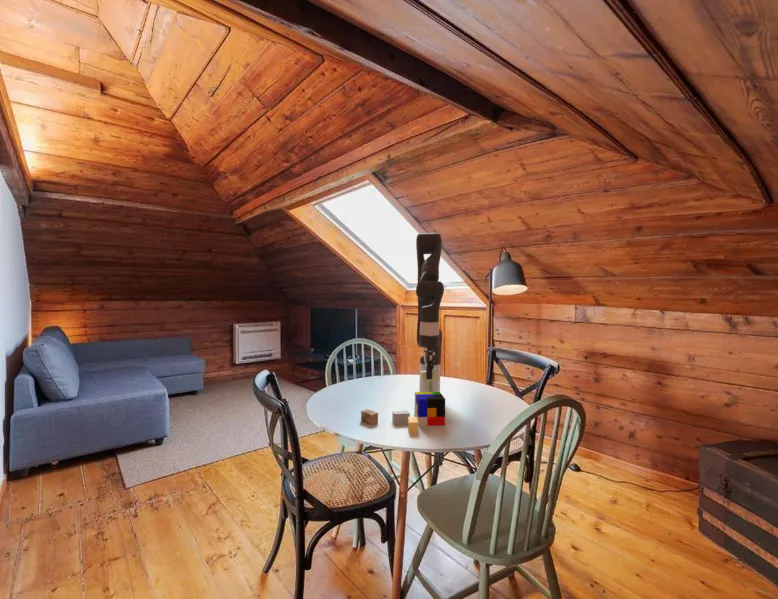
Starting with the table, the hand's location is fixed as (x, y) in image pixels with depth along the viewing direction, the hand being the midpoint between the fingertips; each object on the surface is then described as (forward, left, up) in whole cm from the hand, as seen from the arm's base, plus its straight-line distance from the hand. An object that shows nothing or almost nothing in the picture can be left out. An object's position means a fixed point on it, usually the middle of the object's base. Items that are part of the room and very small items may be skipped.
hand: (428, 377), depth 152 cm
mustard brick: (+10, -7, -17) cm, 21 cm away
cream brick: (0, +1, -1) cm, 1 cm away
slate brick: (+2, -11, -17) cm, 20 cm away
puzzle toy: (0, 0, -17) cm, 17 cm away
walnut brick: (+2, -23, -17) cm, 28 cm away
